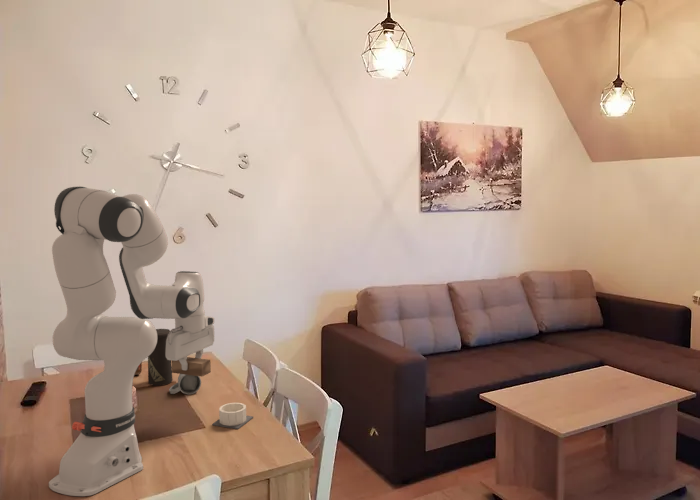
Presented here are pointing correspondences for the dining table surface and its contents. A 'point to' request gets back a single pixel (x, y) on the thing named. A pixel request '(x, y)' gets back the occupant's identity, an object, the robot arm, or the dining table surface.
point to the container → (159, 361)
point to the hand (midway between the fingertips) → (191, 366)
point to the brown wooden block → (192, 367)
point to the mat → (233, 425)
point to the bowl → (232, 414)
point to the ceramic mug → (186, 384)
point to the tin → (138, 369)
